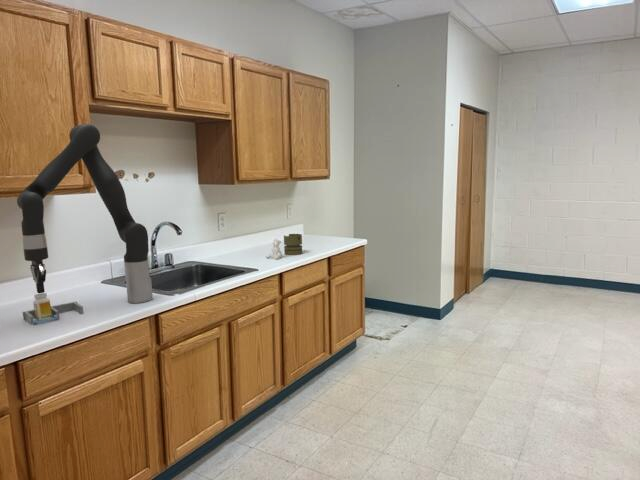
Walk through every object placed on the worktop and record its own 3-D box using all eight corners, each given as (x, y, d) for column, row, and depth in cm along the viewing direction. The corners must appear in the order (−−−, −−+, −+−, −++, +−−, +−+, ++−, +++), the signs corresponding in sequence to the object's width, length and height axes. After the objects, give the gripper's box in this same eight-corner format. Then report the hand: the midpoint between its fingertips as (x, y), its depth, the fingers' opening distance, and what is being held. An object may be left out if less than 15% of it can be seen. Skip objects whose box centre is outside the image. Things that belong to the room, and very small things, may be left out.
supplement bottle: (55, 317, 182) (51, 291, 182) (47, 319, 177) (43, 293, 177) (41, 319, 182) (37, 293, 182) (33, 321, 177) (28, 295, 177)
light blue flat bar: (58, 319, 181) (57, 314, 181) (59, 319, 180) (58, 315, 180) (32, 324, 175) (32, 319, 175) (33, 325, 174) (32, 320, 174)
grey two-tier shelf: (77, 308, 194) (76, 301, 194) (84, 313, 187) (84, 306, 187) (23, 319, 182) (22, 311, 181) (29, 325, 175) (28, 317, 174)
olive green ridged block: (280, 235, 300) (290, 233, 309) (280, 254, 302) (291, 251, 311) (295, 236, 294) (305, 234, 303) (295, 256, 296) (305, 252, 305)
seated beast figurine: (265, 258, 290) (264, 239, 288) (275, 256, 296) (274, 237, 295) (275, 260, 284) (274, 240, 282) (286, 258, 290) (285, 238, 288)
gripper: (51, 247, 173) (57, 293, 176) (42, 243, 183) (47, 287, 185) (27, 250, 168) (33, 298, 171) (19, 246, 178) (25, 291, 180)
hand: (40, 292), depth 178 cm, fingers closed
